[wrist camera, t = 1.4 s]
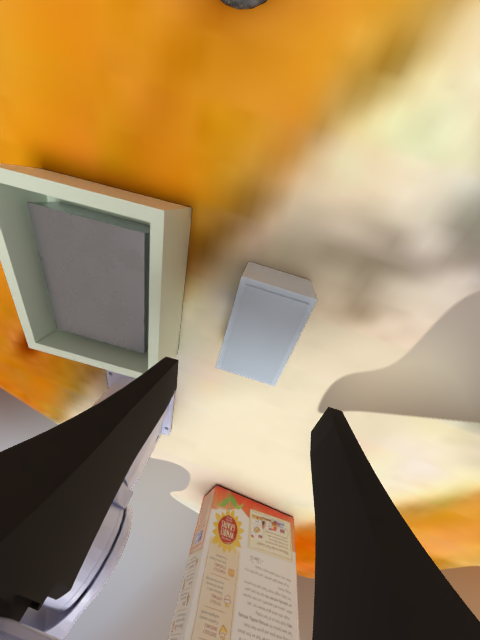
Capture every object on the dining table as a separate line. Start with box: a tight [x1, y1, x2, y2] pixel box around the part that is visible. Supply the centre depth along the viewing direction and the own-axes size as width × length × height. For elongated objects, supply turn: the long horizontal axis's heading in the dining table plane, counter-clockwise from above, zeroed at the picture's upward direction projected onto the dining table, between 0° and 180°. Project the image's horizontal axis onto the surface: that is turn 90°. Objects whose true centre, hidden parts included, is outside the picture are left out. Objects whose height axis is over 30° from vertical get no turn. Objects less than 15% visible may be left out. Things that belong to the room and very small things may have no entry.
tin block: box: [27, 202, 150, 354], centre depth 18 cm, size 10×8×2 cm
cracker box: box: [168, 486, 299, 640], centre depth 27 cm, size 14×6×21 cm, turn 63°
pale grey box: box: [216, 261, 317, 386], centre depth 18 cm, size 8×5×4 cm, turn 165°
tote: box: [0, 163, 192, 378], centre depth 18 cm, size 14×12×4 cm
